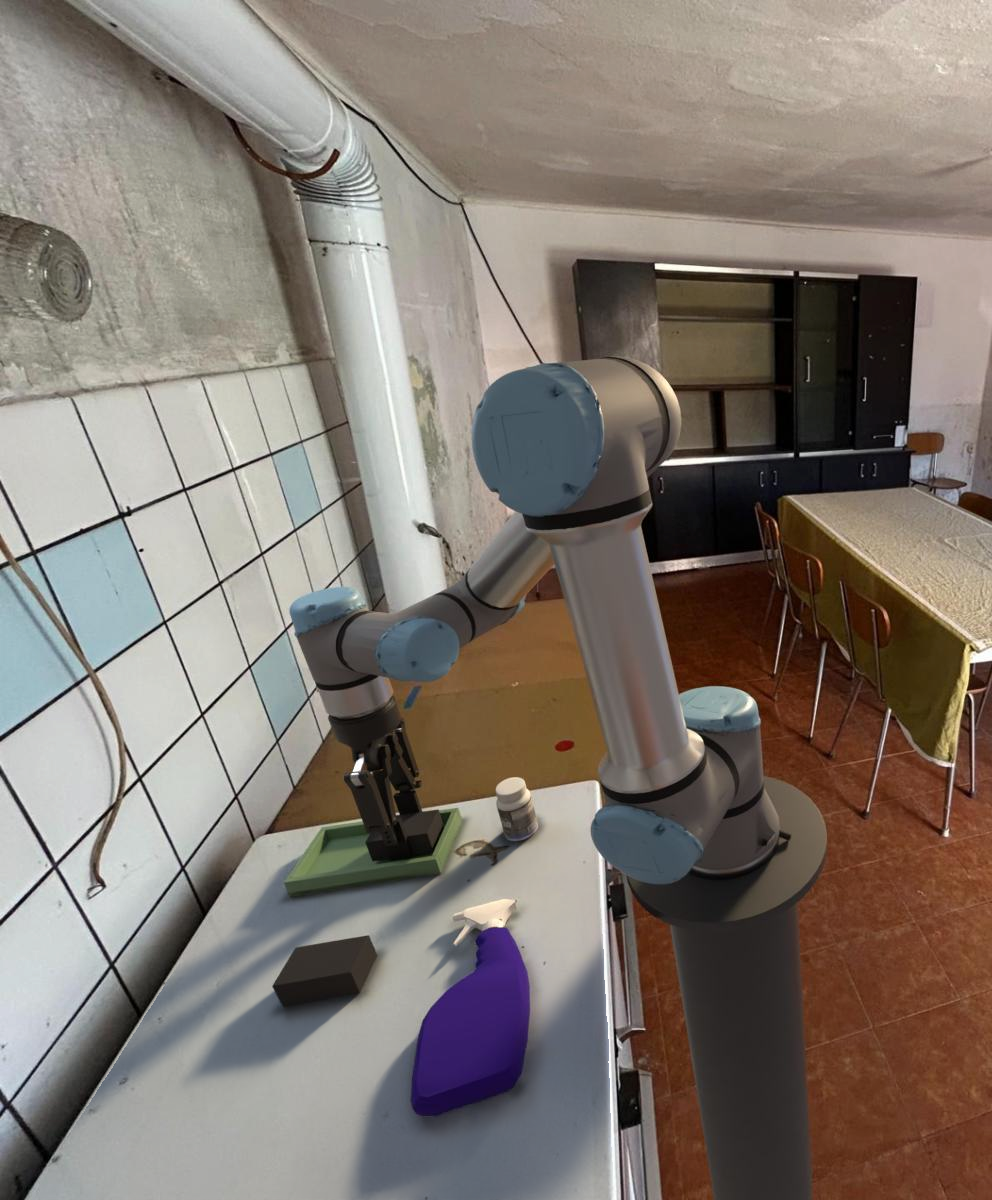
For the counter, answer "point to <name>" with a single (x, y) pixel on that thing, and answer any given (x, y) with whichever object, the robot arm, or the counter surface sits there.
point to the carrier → (363, 859)
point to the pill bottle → (516, 809)
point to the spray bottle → (475, 1022)
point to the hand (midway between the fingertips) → (409, 842)
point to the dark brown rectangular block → (325, 971)
